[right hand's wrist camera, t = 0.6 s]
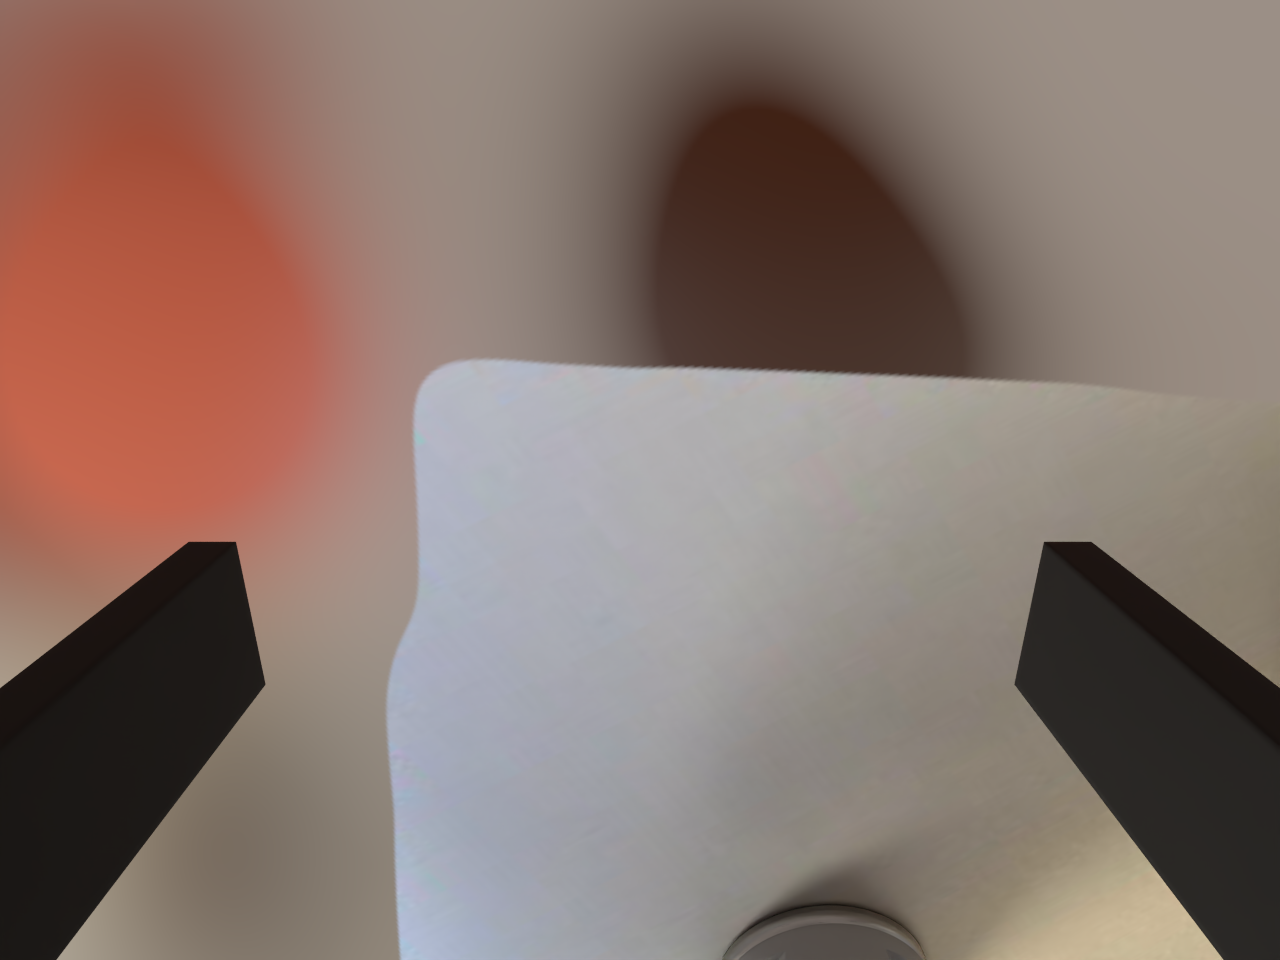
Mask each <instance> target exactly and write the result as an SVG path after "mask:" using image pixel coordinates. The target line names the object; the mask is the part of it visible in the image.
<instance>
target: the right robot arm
mask: <svg viewBox="0 0 1280 960" xmlns="http://www.w3.org/2000/svg"><path fill="white" fill-rule="evenodd" d="M264 686H265V680H264V675H263V670H262V665H261V661H260V656H259V651H258V646H257V641H256V637H255V632H254V627H253V622H252V617H251V612H250V608H249V603H248V598H247V593H246V588H245V583H244V579H243V574H242V569H241V564H240V559H239V555H238V550H237V545H236V542H188V543H187V544H185V545H184V546H183V547H182V548H180V549H179V550H178V551H176V552H175V553H174V554H173V555H171V556H170V557H169V558H167V559H166V560H165V561H163V562H162V563H161V564H160V565H158V566H157V567H156V568H154V569H153V570H152V571H151V572H149V573H148V574H147V575H146V576H144V577H143V578H142V579H140V580H139V581H138V582H136V583H135V584H134V585H133V586H131V587H130V588H129V589H127V590H126V591H125V592H124V593H122V594H121V595H120V596H118V597H117V598H116V599H115V600H113V601H112V602H111V603H109V604H108V605H107V606H106V607H104V608H103V609H102V610H100V611H99V612H98V613H97V614H95V615H94V616H93V617H91V618H90V619H89V620H88V621H86V622H85V623H84V624H82V625H81V626H80V627H79V628H77V629H76V630H75V631H73V632H72V633H71V634H70V635H68V636H67V637H66V638H64V639H63V640H62V641H60V642H59V643H58V644H57V645H55V646H54V647H53V648H51V649H50V650H49V651H48V652H46V653H45V654H44V655H42V656H41V657H40V658H39V659H37V660H36V661H35V662H33V663H32V664H31V665H30V666H28V667H27V668H26V669H24V670H23V671H22V672H20V673H19V674H18V675H17V676H15V677H14V678H13V679H11V680H10V681H9V682H8V683H6V684H5V685H4V686H2V687H1V688H0V960H56V959H57V958H58V957H59V956H60V954H61V953H62V952H63V950H64V949H65V948H66V946H67V945H68V944H69V942H70V941H71V940H72V938H73V937H74V936H75V935H76V933H77V932H78V931H79V929H80V928H81V927H82V925H83V924H84V923H85V921H86V920H87V919H88V917H89V916H90V915H91V913H92V912H93V911H94V910H95V908H96V907H97V906H98V904H99V903H100V902H101V900H102V899H103V898H104V896H105V895H106V894H107V892H108V891H109V890H110V888H111V887H112V886H113V884H114V883H115V882H116V881H117V879H118V878H119V877H120V875H121V874H122V873H123V871H124V870H125V869H126V867H127V866H128V865H129V863H130V862H131V861H132V860H133V858H134V857H135V856H136V854H137V853H138V852H139V850H140V849H141V848H142V846H143V845H144V844H145V842H146V841H147V840H148V838H149V837H150V836H151V835H152V833H153V832H154V831H155V829H156V828H157V827H158V825H159V824H160V823H161V821H162V820H163V819H164V817H165V816H166V815H167V813H168V812H169V811H170V809H171V808H172V807H173V806H174V804H175V803H176V802H177V800H178V799H179V798H180V796H181V795H182V794H183V792H184V791H185V790H186V788H187V787H188V786H189V784H190V783H191V782H192V780H193V779H194V778H195V777H196V775H197V774H198V773H199V771H200V770H201V769H202V767H203V766H204V765H205V763H206V762H207V761H208V759H209V758H210V757H211V755H212V754H213V753H214V752H215V750H216V749H217V748H218V746H219V745H220V744H221V742H222V741H223V740H224V738H225V737H226V736H227V734H228V733H229V732H230V731H231V729H232V728H233V727H234V725H235V724H236V723H237V721H238V720H239V719H240V717H241V716H242V715H243V713H244V712H245V711H246V709H247V708H248V707H249V706H250V704H251V703H252V702H253V700H254V699H255V698H256V696H257V695H258V694H259V692H260V691H261V690H262V688H263V687H264ZM1015 686H1016V687H1017V688H1018V690H1019V691H1020V692H1021V694H1022V695H1023V696H1024V698H1025V699H1026V700H1027V702H1028V703H1029V704H1030V706H1031V707H1032V708H1033V709H1034V711H1035V712H1036V713H1037V715H1038V716H1039V717H1040V719H1041V720H1042V721H1043V723H1044V724H1045V725H1046V727H1047V728H1048V729H1049V731H1050V732H1051V733H1052V734H1053V736H1054V737H1055V738H1056V740H1057V741H1058V742H1059V744H1060V745H1061V746H1062V748H1063V749H1064V750H1065V752H1066V753H1067V754H1068V756H1069V757H1070V758H1071V759H1072V761H1073V762H1074V763H1075V765H1076V766H1077V767H1078V769H1079V770H1080V771H1081V773H1082V774H1083V775H1084V777H1085V778H1086V779H1087V781H1088V782H1089V783H1090V784H1091V786H1092V787H1093V788H1094V790H1095V791H1096V792H1097V794H1098V795H1099V796H1100V798H1101V799H1102V800H1103V802H1104V803H1105V804H1106V806H1107V807H1108V808H1109V809H1110V811H1111V812H1112V813H1113V815H1114V816H1115V817H1116V819H1117V820H1118V821H1119V823H1120V824H1121V825H1122V827H1123V828H1124V829H1125V831H1126V832H1127V833H1128V835H1129V836H1130V837H1131V838H1132V840H1133V841H1134V842H1135V844H1136V845H1137V846H1138V848H1139V849H1140V850H1141V852H1142V853H1143V854H1144V856H1145V857H1146V858H1147V860H1148V861H1149V862H1150V863H1151V865H1152V866H1153V867H1154V869H1155V870H1156V871H1157V873H1158V874H1159V875H1160V877H1161V878H1162V879H1163V881H1164V882H1165V883H1166V885H1167V886H1168V887H1169V888H1170V890H1171V891H1172V892H1173V894H1174V895H1175V896H1176V898H1177V899H1178V900H1179V902H1180V903H1181V904H1182V906H1183V907H1184V908H1185V910H1186V911H1187V912H1188V913H1189V915H1190V916H1191V917H1192V919H1193V920H1194V921H1195V923H1196V924H1197V925H1198V927H1199V928H1200V929H1201V931H1202V932H1203V933H1204V935H1205V936H1206V937H1207V938H1208V940H1209V941H1210V942H1211V944H1212V945H1213V946H1214V948H1215V949H1216V950H1217V952H1218V953H1219V954H1220V956H1221V957H1222V958H1223V960H1280V688H1279V687H1278V686H1276V685H1275V684H1274V683H1272V682H1271V681H1270V680H1269V679H1267V678H1266V677H1265V676H1263V675H1262V674H1261V673H1260V672H1258V671H1257V670H1256V669H1254V668H1253V667H1252V666H1250V665H1249V664H1248V663H1247V662H1245V661H1244V660H1243V659H1241V658H1240V657H1239V656H1238V655H1236V654H1235V653H1234V652H1232V651H1231V650H1230V649H1229V648H1227V647H1226V646H1225V645H1223V644H1222V643H1221V642H1220V641H1218V640H1217V639H1216V638H1214V637H1213V636H1212V635H1211V634H1209V633H1208V632H1207V631H1205V630H1204V629H1203V628H1202V627H1200V626H1199V625H1198V624H1196V623H1195V622H1194V621H1193V620H1191V619H1190V618H1189V617H1187V616H1186V615H1185V614H1184V613H1182V612H1181V611H1180V610H1178V609H1177V608H1176V607H1174V606H1173V605H1172V604H1171V603H1169V602H1168V601H1167V600H1165V599H1164V598H1163V597H1162V596H1160V595H1159V594H1158V593H1156V592H1155V591H1154V590H1153V589H1151V588H1150V587H1149V586H1147V585H1146V584H1145V583H1144V582H1142V581H1141V580H1140V579H1138V578H1137V577H1136V576H1135V575H1133V574H1132V573H1131V572H1129V571H1128V570H1127V569H1126V568H1124V567H1123V566H1122V565H1120V564H1119V563H1118V562H1117V561H1115V560H1114V559H1113V558H1111V557H1110V556H1109V555H1108V554H1106V553H1105V552H1104V551H1102V550H1101V549H1100V548H1098V547H1097V546H1096V545H1095V544H1093V543H1092V542H1044V545H1043V550H1042V555H1041V559H1040V564H1039V569H1038V574H1037V579H1036V583H1035V588H1034V593H1033V598H1032V603H1031V608H1030V612H1029V617H1028V622H1027V627H1026V632H1025V637H1024V641H1023V646H1022V651H1021V656H1020V661H1019V665H1018V670H1017V675H1016V680H1015ZM722 960H926V959H925V956H924V953H923V951H922V949H921V947H920V945H919V944H918V942H917V941H916V940H915V938H914V937H913V936H912V935H911V934H910V933H909V932H908V931H907V930H906V929H904V928H903V927H902V926H900V925H899V924H898V923H896V922H894V921H893V920H891V919H889V918H887V917H885V916H883V915H880V914H878V913H875V912H872V911H869V910H865V909H861V908H855V907H849V906H836V905H825V906H812V907H805V908H800V909H795V910H791V911H788V912H784V913H781V914H779V915H776V916H773V917H771V918H769V919H766V920H764V921H763V922H761V923H759V924H757V925H755V926H754V927H752V928H751V929H749V930H748V931H747V932H745V933H744V934H743V935H741V936H740V937H739V938H738V939H737V940H736V941H735V942H734V943H733V944H732V946H731V947H730V948H729V949H728V951H727V952H726V954H725V955H724V957H723V959H722Z"/></svg>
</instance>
